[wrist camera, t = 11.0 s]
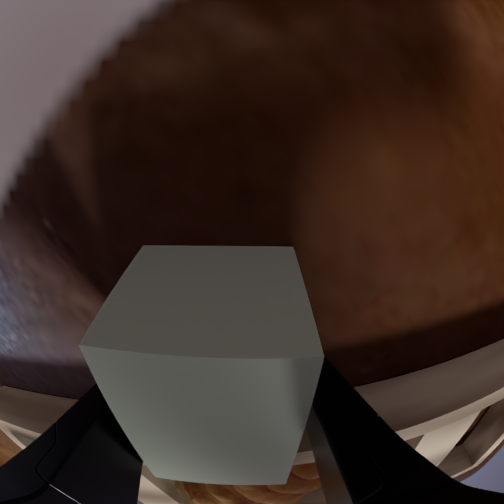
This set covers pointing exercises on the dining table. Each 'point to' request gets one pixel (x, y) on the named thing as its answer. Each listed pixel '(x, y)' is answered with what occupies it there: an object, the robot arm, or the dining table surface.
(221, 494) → the pastry
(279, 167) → the dining table surface
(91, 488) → the robot arm
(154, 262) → the block
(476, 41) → the dining table surface
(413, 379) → the frame
